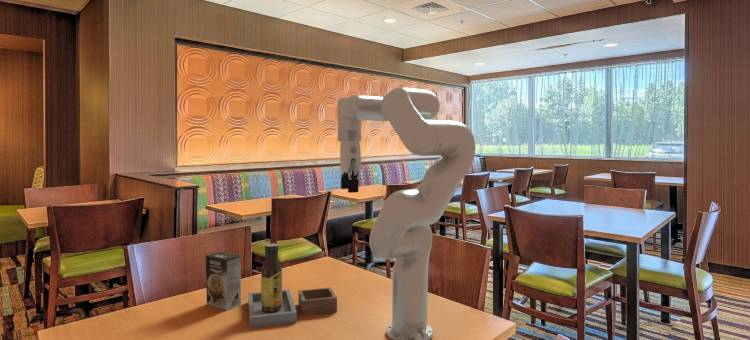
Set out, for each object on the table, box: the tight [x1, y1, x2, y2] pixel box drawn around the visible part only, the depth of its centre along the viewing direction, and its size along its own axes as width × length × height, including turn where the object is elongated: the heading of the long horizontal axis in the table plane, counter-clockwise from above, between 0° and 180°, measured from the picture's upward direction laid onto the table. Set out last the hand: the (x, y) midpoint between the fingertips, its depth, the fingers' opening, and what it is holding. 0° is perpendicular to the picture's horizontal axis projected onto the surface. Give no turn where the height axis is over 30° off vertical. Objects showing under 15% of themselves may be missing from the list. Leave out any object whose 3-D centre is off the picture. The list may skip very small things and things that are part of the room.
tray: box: [247, 288, 298, 329], centre depth 134 cm, size 20×13×3 cm, turn 17°
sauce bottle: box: [260, 243, 283, 312], centre depth 133 cm, size 7×6×20 cm
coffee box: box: [205, 251, 242, 311], centre depth 139 cm, size 9×6×16 cm
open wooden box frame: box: [298, 287, 338, 317], centre depth 137 cm, size 10×10×4 cm
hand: (349, 190), depth 141 cm, fingers open, 9 cm apart
